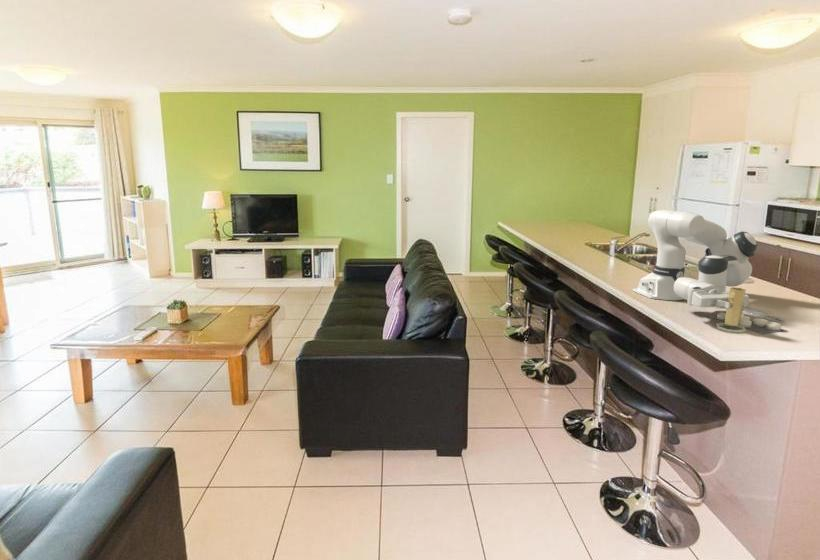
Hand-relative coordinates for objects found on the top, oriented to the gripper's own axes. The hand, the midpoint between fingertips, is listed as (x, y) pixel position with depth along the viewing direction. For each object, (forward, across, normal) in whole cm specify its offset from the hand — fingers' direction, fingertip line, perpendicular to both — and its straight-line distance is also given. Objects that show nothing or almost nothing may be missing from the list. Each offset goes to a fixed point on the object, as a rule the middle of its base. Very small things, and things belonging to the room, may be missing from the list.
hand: (737, 305), depth 177 cm
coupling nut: (-1, 0, -7) cm, 7 cm away
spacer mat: (-4, -10, -10) cm, 15 cm away
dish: (-1, 0, -10) cm, 10 cm away
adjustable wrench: (-16, -27, -10) cm, 33 cm away
